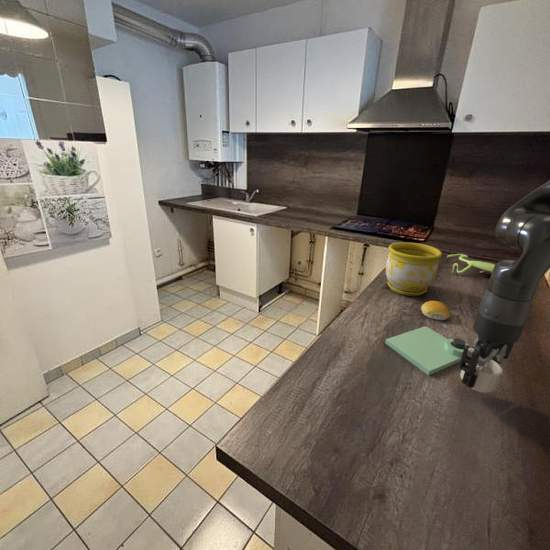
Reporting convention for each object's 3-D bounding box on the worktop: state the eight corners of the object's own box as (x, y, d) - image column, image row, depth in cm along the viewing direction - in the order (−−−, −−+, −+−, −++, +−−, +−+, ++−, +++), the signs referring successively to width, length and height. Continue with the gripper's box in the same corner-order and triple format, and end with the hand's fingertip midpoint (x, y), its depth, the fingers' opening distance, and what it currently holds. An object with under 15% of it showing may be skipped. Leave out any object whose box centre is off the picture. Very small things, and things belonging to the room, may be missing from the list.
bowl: (471, 368, 67) (477, 351, 65) (501, 387, 62) (509, 369, 60) (453, 377, 65) (458, 359, 63) (483, 398, 59) (490, 379, 57)
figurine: (445, 261, 144) (448, 250, 142) (512, 272, 131) (516, 260, 129) (443, 273, 129) (446, 261, 127) (518, 287, 117) (523, 274, 115)
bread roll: (445, 309, 99) (448, 299, 97) (450, 323, 91) (453, 312, 90) (419, 305, 102) (421, 295, 100) (421, 318, 94) (424, 307, 92)
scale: (425, 329, 88) (427, 321, 87) (472, 357, 76) (476, 348, 75) (385, 343, 81) (386, 334, 80) (429, 376, 69) (432, 366, 68)
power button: (456, 342, 78) (457, 337, 77) (466, 347, 75) (468, 343, 75) (449, 344, 77) (450, 339, 76) (459, 350, 74) (461, 345, 74)
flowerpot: (377, 278, 123) (383, 241, 116) (421, 280, 121) (430, 243, 115) (388, 298, 106) (396, 255, 100) (439, 301, 105) (451, 258, 98)
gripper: (500, 332, 51) (474, 403, 57) (544, 314, 56) (516, 380, 63) (459, 312, 57) (440, 378, 63) (502, 298, 63) (480, 360, 69)
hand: (478, 379), depth 63 cm, fingers closed on bowl, 6 cm apart
